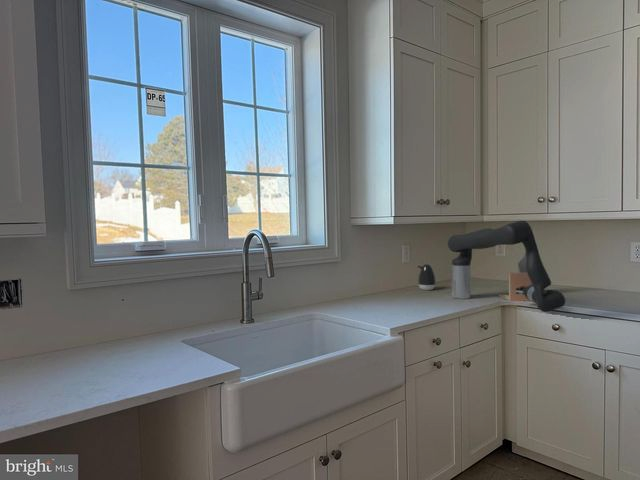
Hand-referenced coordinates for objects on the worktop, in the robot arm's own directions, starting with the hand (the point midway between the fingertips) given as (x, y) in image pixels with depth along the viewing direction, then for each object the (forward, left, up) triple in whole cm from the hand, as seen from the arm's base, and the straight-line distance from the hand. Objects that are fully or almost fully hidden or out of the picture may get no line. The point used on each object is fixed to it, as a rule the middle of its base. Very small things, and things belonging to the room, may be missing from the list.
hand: (523, 288), depth 213 cm
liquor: (+11, +26, -7) cm, 29 cm away
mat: (0, +13, -7) cm, 15 cm away
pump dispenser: (-42, +39, -7) cm, 58 cm away
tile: (0, +5, -7) cm, 9 cm away
